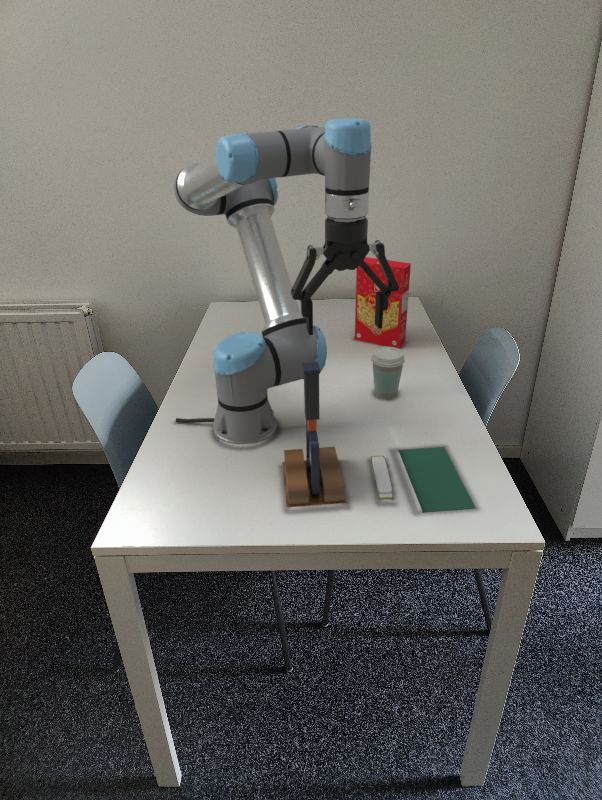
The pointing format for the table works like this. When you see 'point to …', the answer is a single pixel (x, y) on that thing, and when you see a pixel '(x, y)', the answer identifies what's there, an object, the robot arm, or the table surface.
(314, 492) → the racket
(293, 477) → the stand
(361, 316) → the food packaging
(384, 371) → the coffee cup
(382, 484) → the harmonica
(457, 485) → the mat
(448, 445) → the table surface
